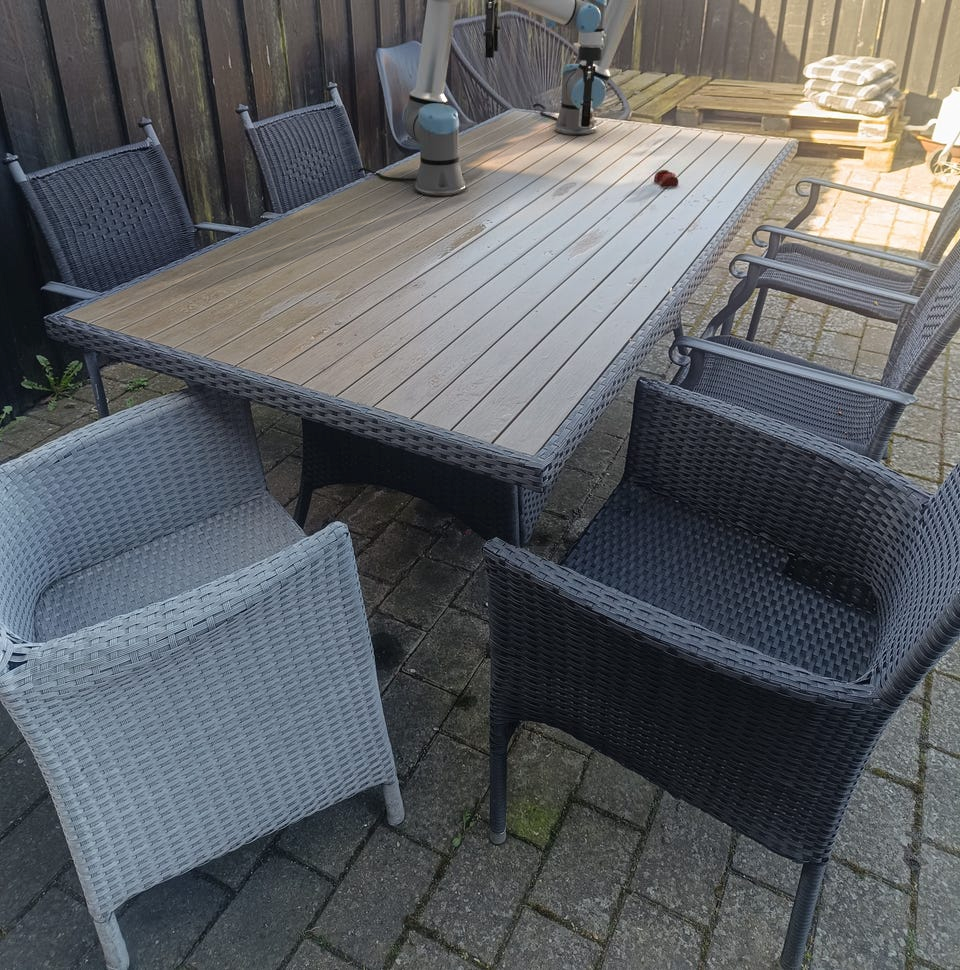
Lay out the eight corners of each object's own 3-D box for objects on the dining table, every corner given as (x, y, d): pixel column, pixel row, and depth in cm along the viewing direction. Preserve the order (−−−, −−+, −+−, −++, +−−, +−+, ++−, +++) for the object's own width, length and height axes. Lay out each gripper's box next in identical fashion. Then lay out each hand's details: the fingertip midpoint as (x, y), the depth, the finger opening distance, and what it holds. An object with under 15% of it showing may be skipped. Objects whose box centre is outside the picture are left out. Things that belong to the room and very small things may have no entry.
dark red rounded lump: (669, 166, 264) (680, 173, 258) (668, 179, 266) (679, 187, 260) (653, 168, 263) (663, 175, 257) (652, 181, 265) (662, 189, 259)
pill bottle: (592, 128, 276) (594, 102, 272) (578, 127, 276) (580, 102, 272) (591, 124, 280) (593, 99, 275) (578, 124, 280) (579, 99, 275)
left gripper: (603, 50, 257) (596, 131, 270) (602, 41, 271) (596, 119, 285) (578, 49, 257) (573, 130, 271) (579, 41, 272) (574, 118, 285)
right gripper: (499, -14, 266) (498, 60, 279) (507, -21, 286) (506, 48, 299) (476, -14, 267) (476, 60, 279) (485, -21, 287) (485, 48, 300)
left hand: (585, 124), depth 278 cm, fingers closed on pill bottle, 4 cm apart
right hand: (491, 54), depth 289 cm, fingers open, 13 cm apart
